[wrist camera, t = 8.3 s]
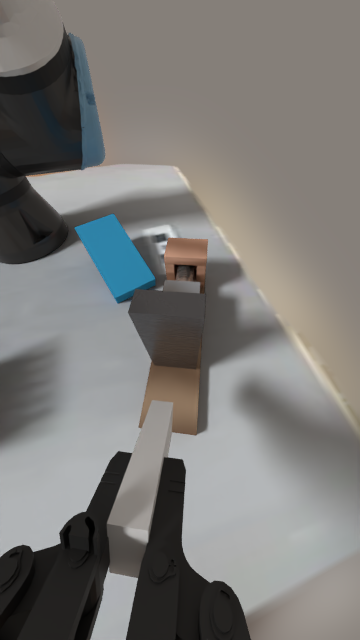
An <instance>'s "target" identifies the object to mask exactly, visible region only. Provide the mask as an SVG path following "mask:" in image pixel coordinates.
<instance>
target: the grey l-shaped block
mask: <svg viewBox="0 0 360 640" xmlns="http://www.w3.org/2000/svg"><path fill="white" fill-rule="evenodd" d="M193 275H194V265H178V269H177V275H176V281H191V282H193ZM205 299H206V294H200V293H185V292H171V291H156V290H141V289H135V291H134V295H133V298H132V301H131V304H130V308H129V311H128V313H129V315H130V317H131V319H132V321H133V323H134V325H135V327H136V330H137V332H138V334H139V336H140V338H141V340H142V342H143V344H144V346H145V348H146V350H147V352H148V354H149V356H150V358H151V360H152V362H153V364H154V365H156V366H166V367H176V368H186V369H195V370H196V366H197V360H198V354H199V348H200V343H201V337H202V331H203V325H204V319H205Z"/></svg>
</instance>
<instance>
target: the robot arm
mask: <svg viewBox="0 0 360 640" xmlns="http://www.w3.org/2000/svg"><path fill="white" fill-rule="evenodd" d="M104 159H105V148H104V143H103V137H102V132H101V127H100V122H99V117H98V112H97V107H96V103H95V97H94V92H93V87H92V81H91V77H90V71H89V66H88V62H87V57H86V52H85V48H84V44H83V42H82V40H81V39H80V38H79V37H76V36H74V35H73V34H71V33H69V34H68V35H67V34H66V31H65V28H64V25H63V22H62V19H61V16H60V13H59V11H58V8H57V6H56V4H55V3H54V1H53V0H0V262H2V263H8V264H17V263H24V262H29V261H32V260H35V259H38V258H41V257H43V256H45V255H47V254H49V253H50V252H52V251H54V250H55V249H56V248H58V247H59V246H60V245H61V244H62V243H63V241H64V240H65V239H66V237H67V234H68V228H67V225H66V224H65V222H64V220H63V219H62V217H61V216H60V214H59V213H58V212H57V211H56V210H55V209H54V208H53V207H52V206H51V205H50V204H49V203H48V202H47V201H46V200H45V199H44V198H43V197H42V196H40V195H39V194H38V193H37V192H36V191H35V190H34V188H33V187H32V186H31V184H30V183H29V181H28V180H27V178H26V176H29V175H37V174H45V173H54V172H63V171H71V170H84V169H85V168H87V167H92V166H97V165H100V164H101V163H102V162H103V161H104ZM172 416H173V402H165V401H156V400H152V402H151V404H150V407H149V410H148V412H147V415H146V418H145V421H144V423H143V426H142V429H141V432H140V434H139V437H138V440H137V442H136V445H135V448H134V451H133V453H127V452H120V451H118V452H117V453H116V455H115V456H114V457H113V458H112V459H111V460H110V462H109V464H108V466H107V468H106V471H105V473H104V475H103V477H102V479H101V482H100V483H99V485H98V487H97V490H96V492H95V494H94V496H93V498H92V500H91V502H90V504H89V506H88V509H87V511H86V512H81V513H79V514H77V515H75V516H73V517H72V518H71V519H70V520H69V521H68V522H67V523H66V524H65V525H64V527H63V528H62V530H61V531H60V533H59V534H60V540H61V544H58V545H56V546H53V547H50V548H46V549H43V550H39V551H36V552H33V551H32V550H31V548H30V546H26V545H21V546H17V547H14V548H12V549H11V550H9V551H8V552H6V553H5V554H3V555H2V556H1V557H0V640H90V638H91V635H92V631H93V628H94V625H95V621H96V618H97V615H98V611H99V608H100V604H101V601H102V596H103V590H104V588H103V584H104V580H105V577H106V574H107V571H108V567H109V570H110V573H115V574H121V575H126V576H131V577H136V578H138V582H137V587H136V592H135V597H134V602H133V607H132V612H131V617H130V622H129V627H128V632H127V637H126V640H251V639H250V635H249V631H248V627H247V624H246V620H245V616H244V612H243V610H242V607H241V604H240V602H239V599H238V597H237V596H236V594H235V593H234V591H233V590H232V588H231V587H229V586H228V585H227V584H225V583H224V582H222V581H213V582H212V583H210V582H208V581H207V580H206V579H204V578H203V577H202V576H200V575H199V574H198V573H196V572H195V571H194V570H193V569H192V568H191V567H190V565H189V563H188V562H187V560H186V558H185V555H184V553H183V548H182V523H183V507H184V491H185V475H186V469H185V466H184V463H183V460H182V459H175V458H168V453H169V447H170V441H171V435H172Z"/></svg>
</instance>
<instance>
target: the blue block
mask: <svg viewBox="0 0 360 640" xmlns="http://www.w3.org/2000/svg"><path fill="white" fill-rule="evenodd" d="M75 230H76V232H77V234H78V235H79V237H80V239H81V241H82V242H83V244H84V246H85V248H86V249H87V251H88V253H89V255H90V256H91V258H92V260H93V262H94V263H95V265H96V267H97V269H98V270H99V272H100V274H101V276H102V277H103V279H104V281H105V282H106V284H107V286H108V288H109V289H110V291H111V293H112V295H113V296H114V298H115V300H116V302H117V303H120V302H122V301H124V300H126V299H128V298H130V297H132V296H133V295H134V291H135V289H141V290H146V289H149V288H151V287H153V286H155V277H154V275H153V274H152V272H151V271H150V269H149V268H148V266H147V264H146V263H145V261H144V260H143V258H142V257H141V255H140V254H139V252H138V251H137V249H136V247H135V246H134V244H133V243H132V241H131V240H130V238H129V237H128V235H127V234H126V232H125V230H124V229H123V227H122V226H121V224H120V223H119V221H118V220H117V218H116V217H115V215H114V214H111V215H108V216H105V217H102V218H100V219H97V220H94V221H91V222H88V223H86V224H83V225H80V226H77V227H75Z"/></svg>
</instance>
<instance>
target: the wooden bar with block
mask: <svg viewBox="0 0 360 640" xmlns="http://www.w3.org/2000/svg"><path fill="white" fill-rule="evenodd" d="M207 245H208V239H186V238H168V242H167V246H166V250H165V255H164V260H165V268H166V276H167V280H165V282H164V287H163V291H171V292H185V293H200V294H204V289H205V271H206V261H207ZM178 265H194V275H193V282H191V281H176V275H177V269H178ZM201 344H202V337H201V343H200V348H199V354H198V360H197V366H196V370H195V369H186V368H176V367H166V366H156V365H154V364H153V362H151V367H150V372H149V377H148V382H147V387H146V392H145V397H144V402H143V408H142V413H141V418H140V423H139V428H142V426H143V423H144V421H145V418H146V415H147V412H148V410H149V407H150V404H151V402H152V400H156V401H165V402H173V416H172V432H175V433H182V434H190V435H197V417H198V399H199V380H200V362H201Z"/></svg>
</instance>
